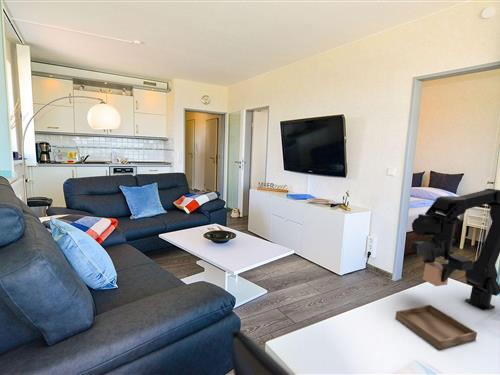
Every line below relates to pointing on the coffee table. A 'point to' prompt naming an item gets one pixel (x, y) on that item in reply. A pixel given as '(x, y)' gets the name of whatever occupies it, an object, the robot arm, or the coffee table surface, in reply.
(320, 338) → the coffee table surface
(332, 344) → the coffee table surface
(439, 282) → the terracotta block
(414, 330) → the walnut tray
